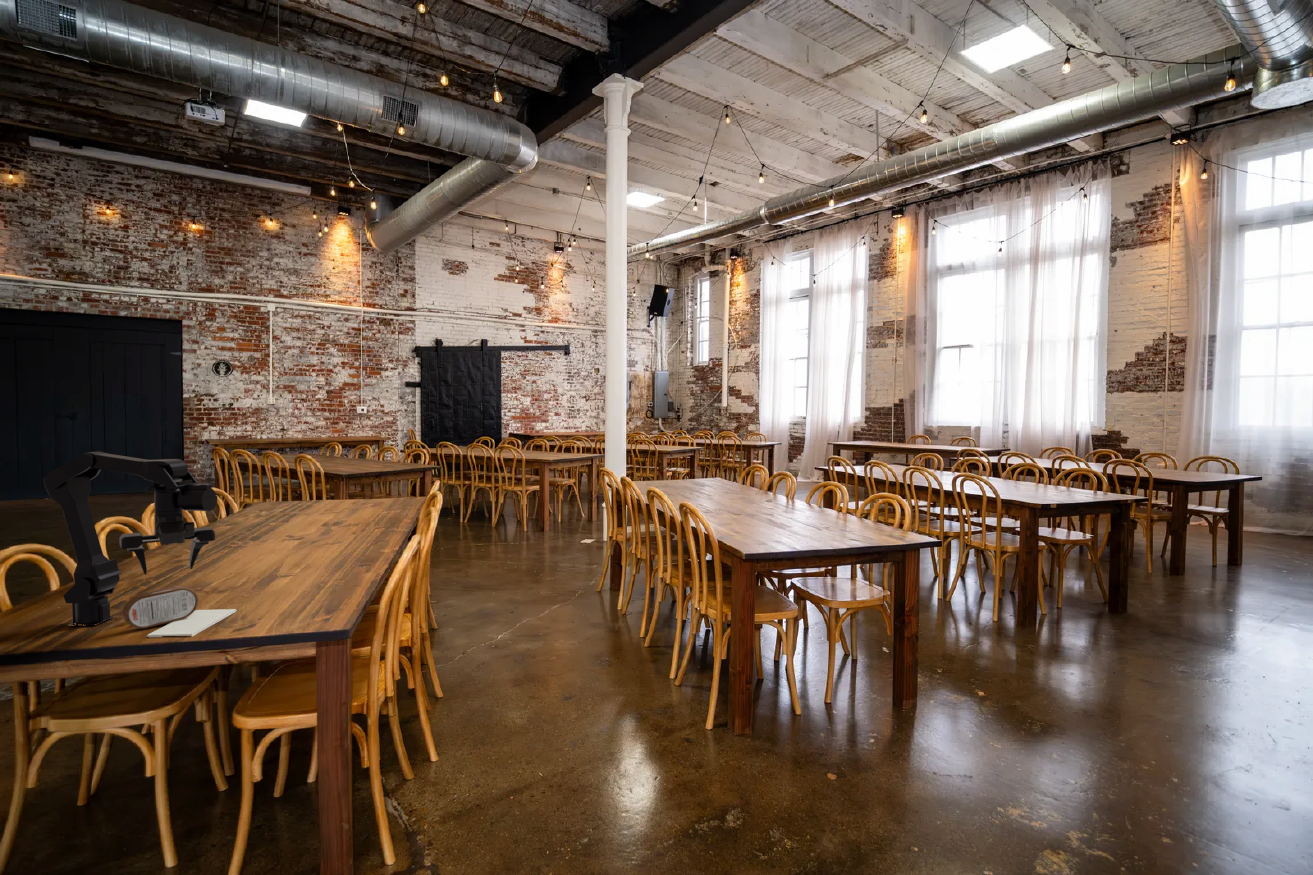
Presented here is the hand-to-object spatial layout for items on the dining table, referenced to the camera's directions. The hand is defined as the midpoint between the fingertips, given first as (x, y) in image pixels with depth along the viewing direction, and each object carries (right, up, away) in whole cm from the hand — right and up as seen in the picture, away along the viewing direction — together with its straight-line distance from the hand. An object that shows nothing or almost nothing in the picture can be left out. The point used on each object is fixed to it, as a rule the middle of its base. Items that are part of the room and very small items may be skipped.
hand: (168, 571), depth 162 cm
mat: (+6, -13, 0) cm, 15 cm away
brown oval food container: (0, -13, -1) cm, 13 cm away
